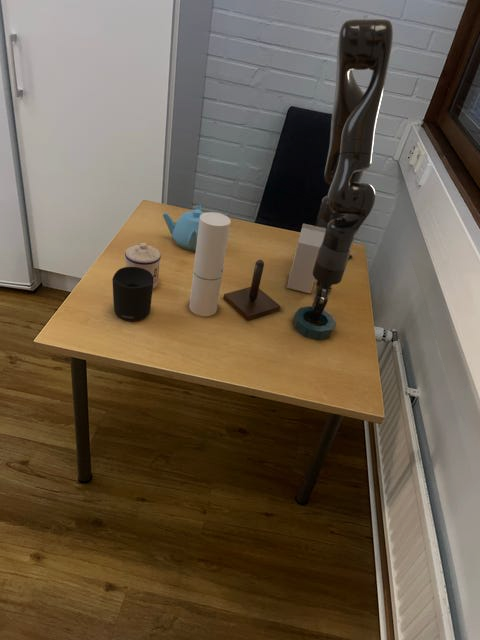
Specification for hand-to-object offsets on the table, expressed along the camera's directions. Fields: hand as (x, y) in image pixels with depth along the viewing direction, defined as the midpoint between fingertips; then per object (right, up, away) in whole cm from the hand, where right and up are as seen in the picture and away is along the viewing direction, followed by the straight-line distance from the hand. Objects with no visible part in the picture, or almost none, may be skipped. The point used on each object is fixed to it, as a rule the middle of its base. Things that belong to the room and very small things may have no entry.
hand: (314, 316), depth 125 cm
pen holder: (-46, +1, -10) cm, 48 cm away
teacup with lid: (-46, +10, +2) cm, 48 cm away
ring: (-1, -3, -3) cm, 4 cm away
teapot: (-35, +24, +24) cm, 49 cm away
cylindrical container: (-30, +2, -4) cm, 30 cm away
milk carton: (-2, +9, +13) cm, 16 cm away
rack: (-17, +3, +1) cm, 17 cm away
